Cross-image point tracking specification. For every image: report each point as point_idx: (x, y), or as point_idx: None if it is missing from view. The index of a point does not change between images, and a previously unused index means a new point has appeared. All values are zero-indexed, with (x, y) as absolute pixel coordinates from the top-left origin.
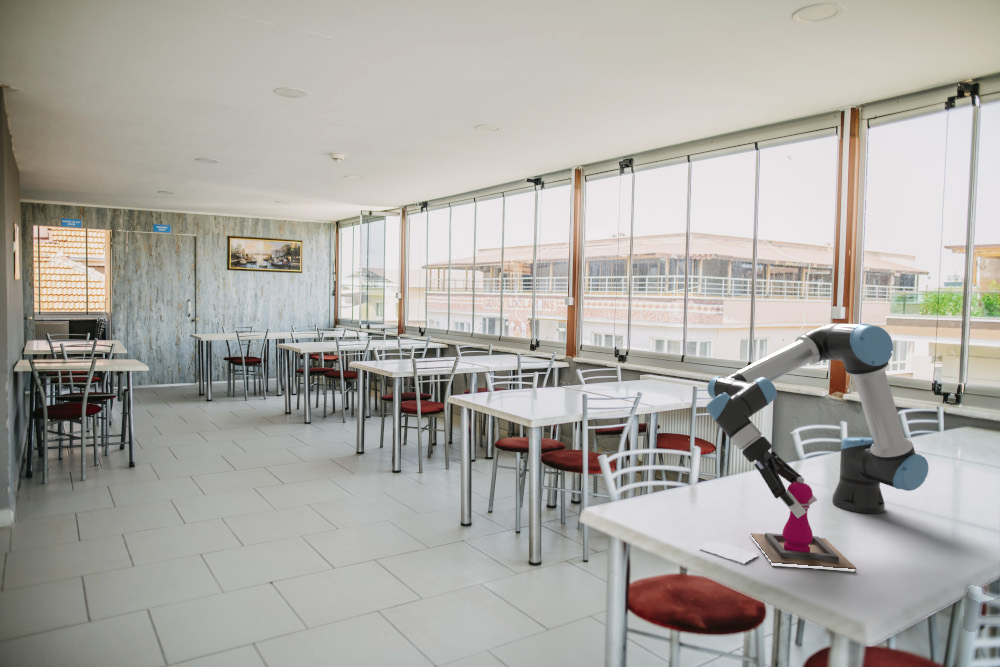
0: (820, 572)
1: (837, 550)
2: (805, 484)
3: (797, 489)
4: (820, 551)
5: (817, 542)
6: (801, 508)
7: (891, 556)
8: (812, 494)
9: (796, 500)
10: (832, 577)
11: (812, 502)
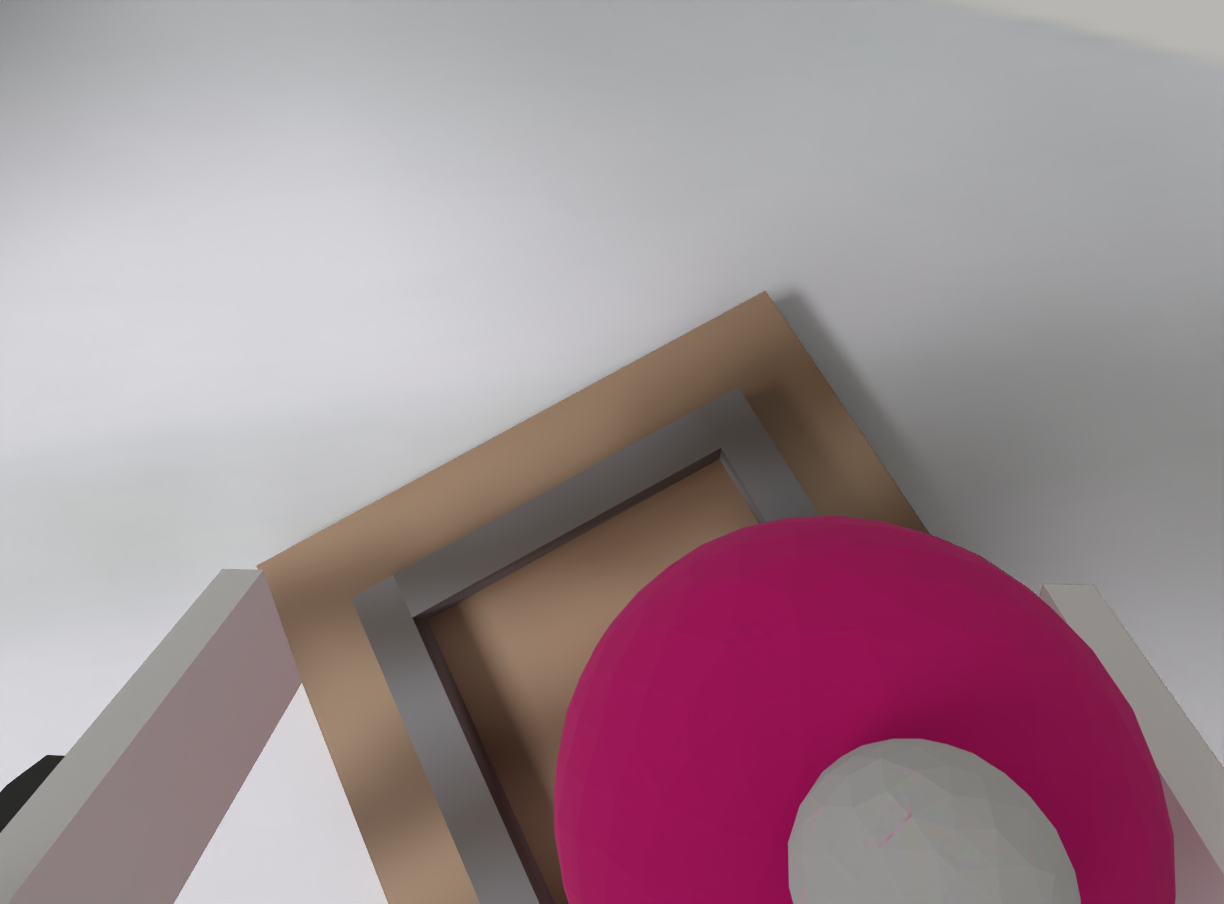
0: (939, 493)
1: (487, 444)
2: (898, 673)
3: (1169, 845)
4: (592, 545)
5: (479, 582)
6: (1132, 661)
7: (305, 182)
8: (179, 640)
9: (1187, 782)
10: (971, 411)
11: (280, 633)
